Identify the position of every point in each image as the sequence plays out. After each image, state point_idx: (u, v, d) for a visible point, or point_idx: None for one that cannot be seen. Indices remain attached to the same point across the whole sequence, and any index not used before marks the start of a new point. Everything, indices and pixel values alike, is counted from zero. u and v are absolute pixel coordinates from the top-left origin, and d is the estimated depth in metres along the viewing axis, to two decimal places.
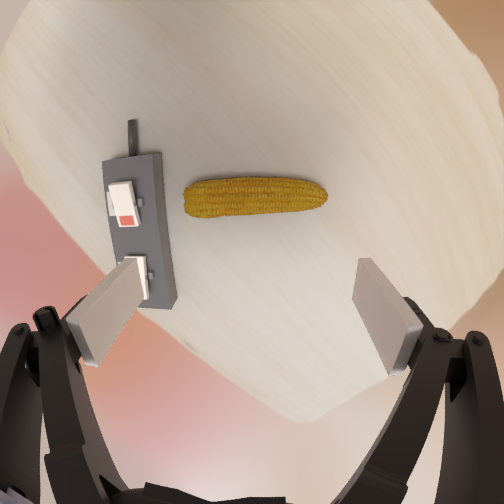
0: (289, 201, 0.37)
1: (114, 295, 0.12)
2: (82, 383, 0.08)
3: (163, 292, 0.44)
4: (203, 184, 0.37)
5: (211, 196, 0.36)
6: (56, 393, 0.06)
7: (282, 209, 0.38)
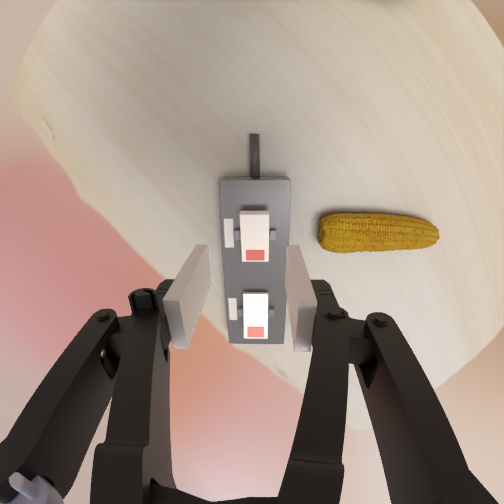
0: (416, 241, 0.35)
1: (197, 279, 0.14)
2: (166, 372, 0.10)
3: (279, 327, 0.42)
4: (346, 219, 0.35)
5: (356, 233, 0.34)
6: (133, 382, 0.07)
7: (409, 247, 0.36)
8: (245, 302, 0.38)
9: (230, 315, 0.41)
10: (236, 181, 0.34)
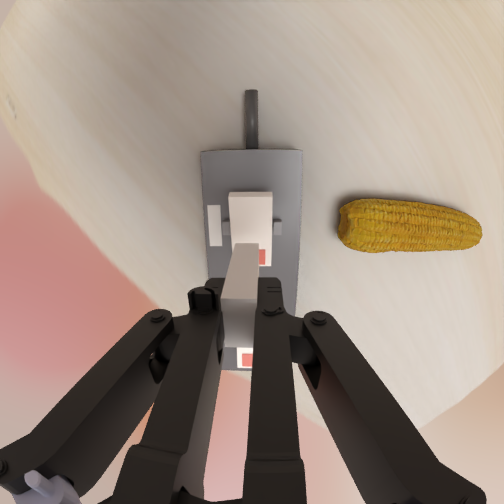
0: (461, 239, 0.24)
1: None
2: (217, 375, 0.10)
3: None
4: (378, 205, 0.24)
5: (392, 226, 0.23)
6: (181, 385, 0.07)
7: (451, 248, 0.25)
8: None
9: None
10: (225, 151, 0.23)
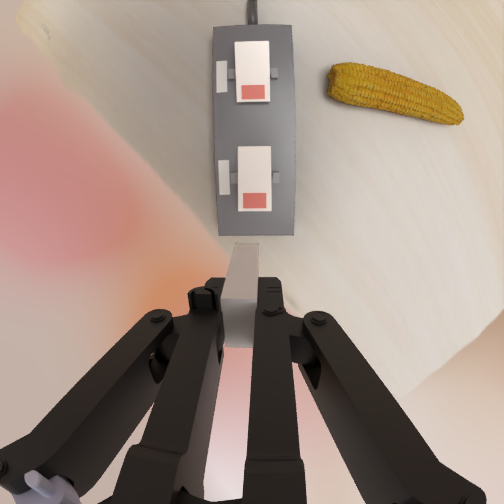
0: (441, 107, 0.24)
1: None
2: (217, 375, 0.10)
3: (287, 207, 0.31)
4: (359, 64, 0.24)
5: (373, 75, 0.23)
6: (181, 385, 0.07)
7: (434, 114, 0.25)
8: (240, 157, 0.28)
9: (220, 187, 0.30)
10: (232, 26, 0.23)
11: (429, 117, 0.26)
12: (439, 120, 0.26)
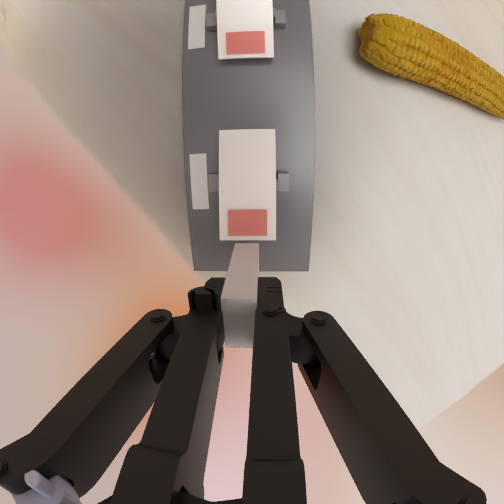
0: None
1: None
2: (217, 375, 0.10)
3: (300, 228, 0.20)
4: None
5: (427, 35, 0.11)
6: (181, 385, 0.07)
7: (497, 102, 0.13)
8: (223, 149, 0.16)
9: (194, 197, 0.19)
10: None
11: (490, 106, 0.14)
12: (500, 112, 0.14)
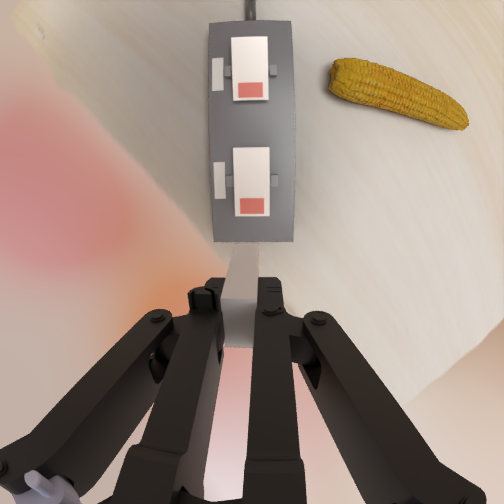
0: (446, 110, 0.23)
1: None
2: (217, 375, 0.10)
3: (286, 211, 0.29)
4: (363, 60, 0.22)
5: (376, 72, 0.22)
6: (181, 385, 0.07)
7: (439, 116, 0.24)
8: (236, 160, 0.25)
9: (216, 191, 0.29)
10: (229, 22, 0.21)
11: (433, 120, 0.25)
12: (443, 124, 0.25)
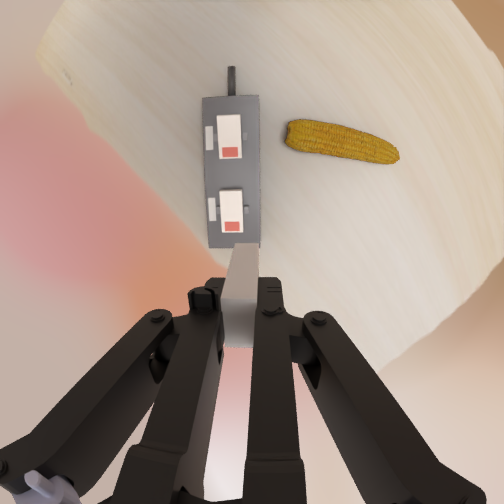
0: (375, 151, 0.40)
1: None
2: (217, 375, 0.10)
3: (255, 228, 0.46)
4: (309, 121, 0.39)
5: (317, 131, 0.38)
6: (181, 385, 0.07)
7: (368, 157, 0.40)
8: (221, 199, 0.42)
9: (210, 216, 0.46)
10: (216, 97, 0.38)
11: (364, 159, 0.41)
12: (374, 161, 0.41)
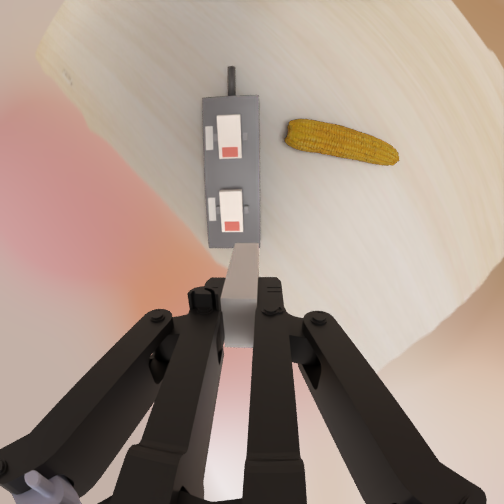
0: (375, 152, 0.40)
1: None
2: (217, 375, 0.10)
3: (255, 228, 0.46)
4: (309, 120, 0.39)
5: (317, 131, 0.38)
6: (181, 385, 0.07)
7: (368, 158, 0.40)
8: (221, 199, 0.42)
9: (210, 215, 0.46)
10: (215, 97, 0.38)
11: (364, 160, 0.41)
12: (373, 162, 0.42)
